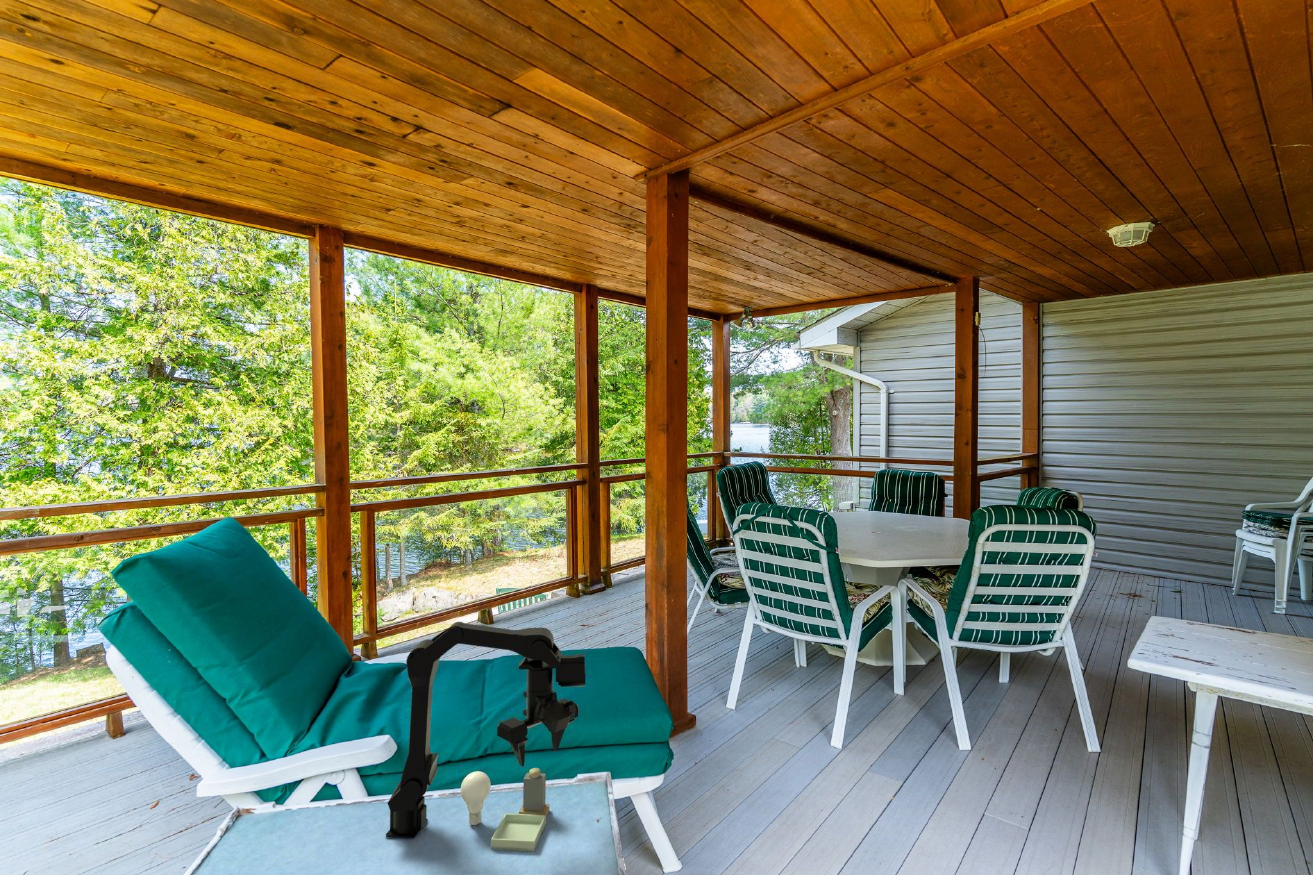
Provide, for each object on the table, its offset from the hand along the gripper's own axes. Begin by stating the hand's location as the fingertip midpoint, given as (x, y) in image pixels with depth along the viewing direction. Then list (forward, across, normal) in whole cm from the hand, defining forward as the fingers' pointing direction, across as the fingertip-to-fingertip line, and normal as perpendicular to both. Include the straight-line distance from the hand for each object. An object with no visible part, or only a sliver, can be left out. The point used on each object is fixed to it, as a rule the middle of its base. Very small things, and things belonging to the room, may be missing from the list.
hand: (539, 758), depth 134 cm
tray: (+14, -6, -2) cm, 15 cm away
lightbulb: (+14, -10, +9) cm, 19 cm away
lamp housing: (+14, +1, +2) cm, 14 cm away
